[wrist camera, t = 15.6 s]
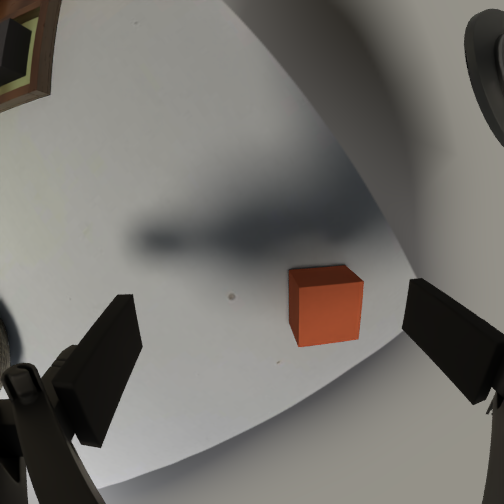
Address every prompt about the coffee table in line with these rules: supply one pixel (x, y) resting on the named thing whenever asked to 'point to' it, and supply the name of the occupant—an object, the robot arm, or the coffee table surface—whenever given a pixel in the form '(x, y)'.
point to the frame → (32, 49)
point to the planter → (3, 351)
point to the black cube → (13, 50)
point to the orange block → (324, 305)
